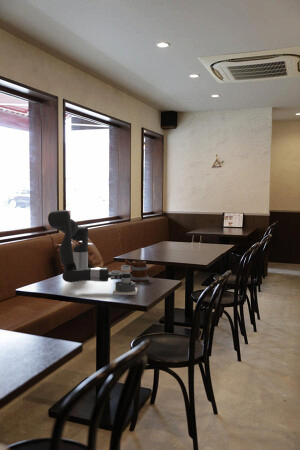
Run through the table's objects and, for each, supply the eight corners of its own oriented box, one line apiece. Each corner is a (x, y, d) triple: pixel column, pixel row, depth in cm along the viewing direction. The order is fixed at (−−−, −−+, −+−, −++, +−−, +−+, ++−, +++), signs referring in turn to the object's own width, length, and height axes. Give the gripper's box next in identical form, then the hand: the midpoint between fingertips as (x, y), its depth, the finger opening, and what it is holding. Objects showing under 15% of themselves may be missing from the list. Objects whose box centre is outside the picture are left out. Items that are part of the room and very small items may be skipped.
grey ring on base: (112, 294, 223) (112, 285, 222) (114, 288, 236) (114, 280, 235) (136, 294, 223) (136, 285, 222) (137, 289, 236) (137, 280, 235)
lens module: (120, 288, 226) (120, 266, 226) (121, 286, 231) (121, 264, 230) (129, 288, 226) (130, 266, 226) (130, 286, 231) (130, 264, 230)
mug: (149, 282, 254) (145, 258, 253) (126, 285, 254) (122, 261, 253) (150, 278, 266) (146, 255, 265) (128, 281, 266) (124, 258, 265)
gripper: (97, 270, 221) (129, 270, 221) (101, 265, 235) (131, 266, 235) (97, 284, 222) (129, 284, 222) (101, 278, 236) (131, 279, 236)
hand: (130, 275), depth 228 cm, fingers closed on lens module, 4 cm apart
